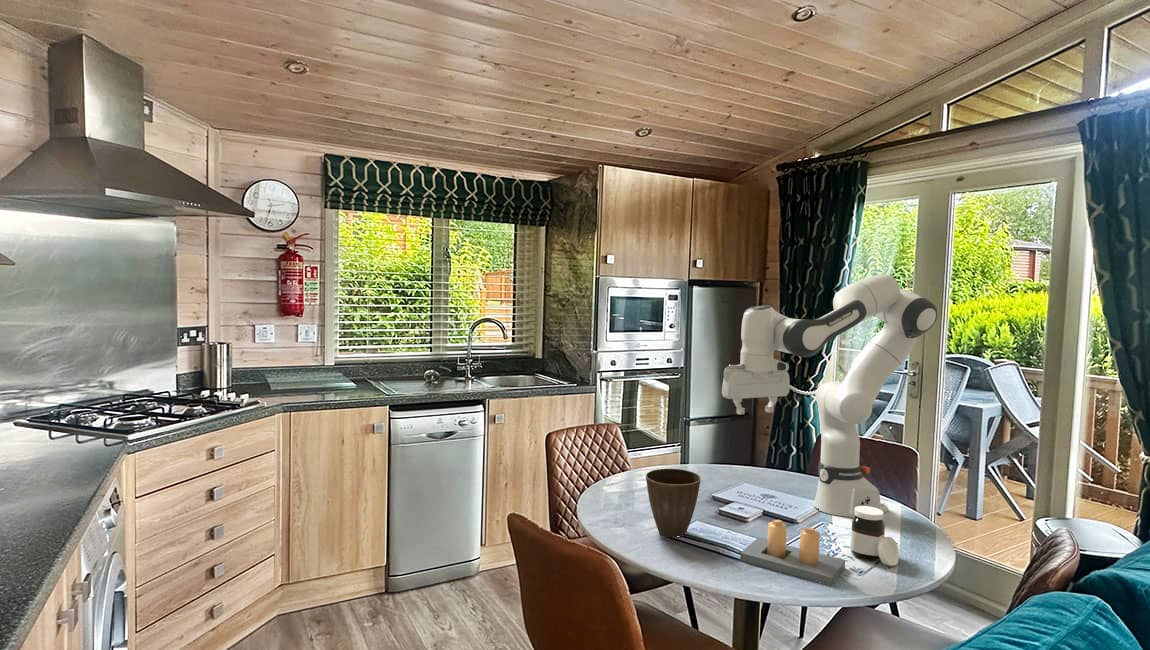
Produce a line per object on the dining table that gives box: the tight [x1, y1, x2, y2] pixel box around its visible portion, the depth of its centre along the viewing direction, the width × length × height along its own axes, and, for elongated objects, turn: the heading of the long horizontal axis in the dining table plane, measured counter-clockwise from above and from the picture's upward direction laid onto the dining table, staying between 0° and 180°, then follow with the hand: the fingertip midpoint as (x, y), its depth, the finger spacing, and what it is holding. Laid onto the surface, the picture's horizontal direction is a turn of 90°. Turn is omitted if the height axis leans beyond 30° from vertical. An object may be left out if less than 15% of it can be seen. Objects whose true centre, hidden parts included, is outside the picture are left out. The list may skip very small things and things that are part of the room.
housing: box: [739, 526, 846, 586], centre depth 160 cm, size 22×12×10 cm, turn 54°
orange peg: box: [767, 519, 787, 559], centre depth 162 cm, size 4×4×10 cm
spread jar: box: [850, 506, 900, 567], centre depth 165 cm, size 12×11×12 cm
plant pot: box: [645, 468, 702, 538], centre depth 178 cm, size 15×15×16 cm
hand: (754, 413), depth 181 cm, fingers open, 8 cm apart
